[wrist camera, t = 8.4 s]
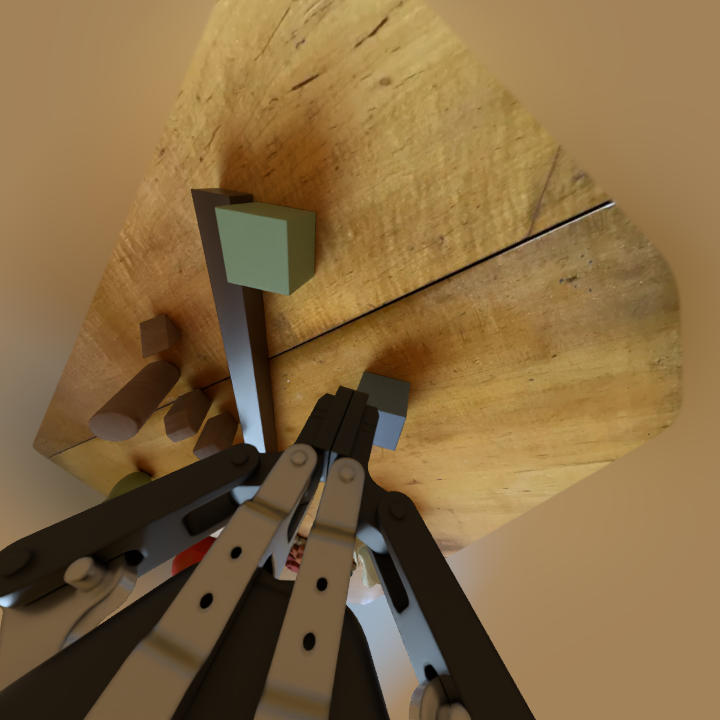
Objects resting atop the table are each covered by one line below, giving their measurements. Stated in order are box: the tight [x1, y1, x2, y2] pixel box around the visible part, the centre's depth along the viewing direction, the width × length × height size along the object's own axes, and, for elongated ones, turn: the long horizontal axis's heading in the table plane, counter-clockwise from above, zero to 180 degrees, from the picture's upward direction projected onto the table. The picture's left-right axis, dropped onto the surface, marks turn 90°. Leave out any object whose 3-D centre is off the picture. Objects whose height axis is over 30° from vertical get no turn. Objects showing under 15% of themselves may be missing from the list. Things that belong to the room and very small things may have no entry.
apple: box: [171, 536, 217, 576], centre depth 67 cm, size 10×10×12 cm
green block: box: [215, 202, 316, 296], centre depth 20 cm, size 5×5×5 cm
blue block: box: [357, 372, 410, 451], centre depth 27 cm, size 5×5×5 cm
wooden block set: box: [89, 314, 238, 460], centre depth 31 cm, size 18×9×10 cm, turn 19°
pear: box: [101, 472, 152, 504], centre depth 53 cm, size 6×5×10 cm
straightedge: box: [191, 188, 278, 453], centre depth 31 cm, size 3×38×3 cm, turn 173°
